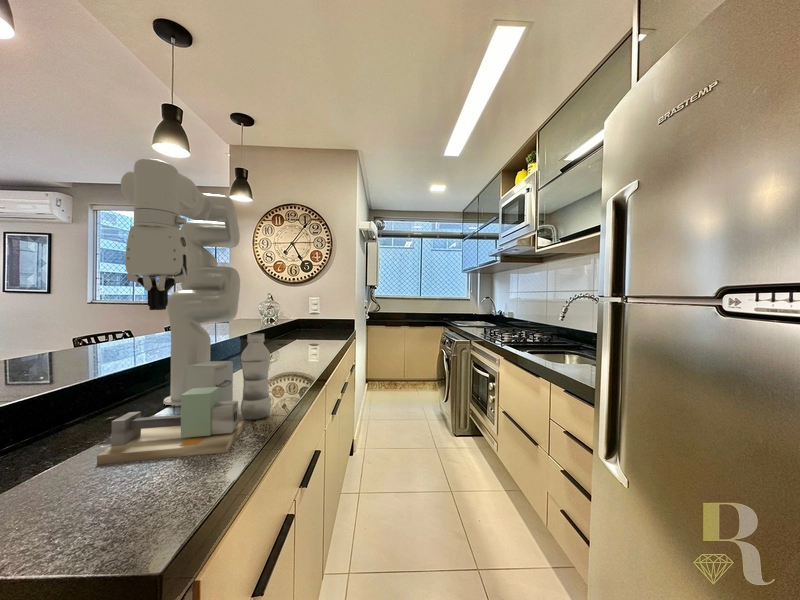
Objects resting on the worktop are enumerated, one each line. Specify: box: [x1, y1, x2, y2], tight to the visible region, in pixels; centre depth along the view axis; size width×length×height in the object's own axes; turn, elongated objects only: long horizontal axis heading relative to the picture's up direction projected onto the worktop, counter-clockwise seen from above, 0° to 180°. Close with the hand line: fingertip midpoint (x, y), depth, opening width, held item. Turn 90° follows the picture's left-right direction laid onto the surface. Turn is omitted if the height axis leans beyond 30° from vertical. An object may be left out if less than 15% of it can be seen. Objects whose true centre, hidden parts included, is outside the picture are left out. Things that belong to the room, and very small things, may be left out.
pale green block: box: [180, 387, 220, 438], centre depth 62 cm, size 5×5×8 cm
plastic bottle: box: [240, 333, 272, 420], centre depth 75 cm, size 6×7×20 cm
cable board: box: [96, 400, 245, 465], centre depth 61 cm, size 12×20×7 cm, turn 102°
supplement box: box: [187, 360, 234, 402], centre depth 79 cm, size 7×7×13 cm
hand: (157, 309), depth 66 cm, fingers closed
